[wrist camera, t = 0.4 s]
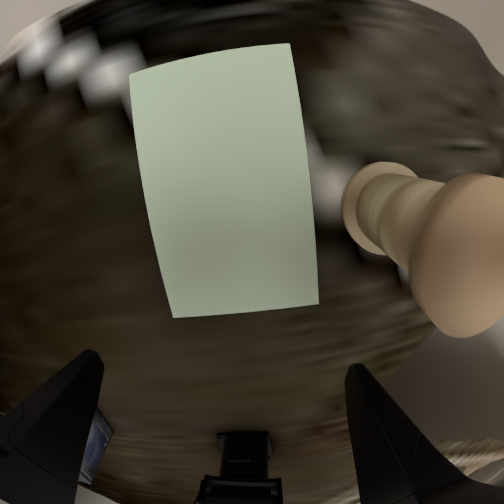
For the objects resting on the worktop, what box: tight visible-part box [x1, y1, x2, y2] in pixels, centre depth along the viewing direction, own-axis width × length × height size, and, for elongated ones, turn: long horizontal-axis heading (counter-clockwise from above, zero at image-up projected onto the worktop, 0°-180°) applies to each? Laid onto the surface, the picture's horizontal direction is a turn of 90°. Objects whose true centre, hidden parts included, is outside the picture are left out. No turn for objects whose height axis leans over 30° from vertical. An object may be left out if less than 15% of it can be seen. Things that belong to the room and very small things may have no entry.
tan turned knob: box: [341, 162, 504, 338], centre depth 15 cm, size 7×7×13 cm
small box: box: [78, 408, 114, 484], centre depth 26 cm, size 11×6×10 cm, turn 10°
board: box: [129, 43, 319, 318], centre depth 20 cm, size 20×12×1 cm, turn 8°
